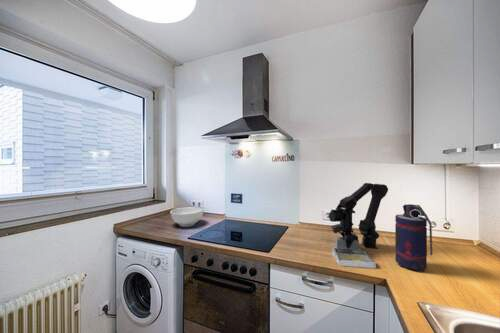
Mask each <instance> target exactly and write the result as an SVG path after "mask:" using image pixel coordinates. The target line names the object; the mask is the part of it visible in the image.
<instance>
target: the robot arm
mask: <svg viewBox="0 0 500 333" xmlns="http://www.w3.org/2000/svg"><path fill="white" fill-rule="evenodd" d="M388 191H389V188H388V186H387V185H386V184H383V183H382V184H381V183H371V182H364V183H363V184H362V185H361V186H360V187H359V188H358V189H357V190H356V191H354V192H353V193H351V195H347V196H345V197H343V198H341V199H340V201H339V203H338V205H337V206H336V208H335V209H331V210H330V211H329V213H328V218H329V221H330V222H332V223H334V222H339V223H338V224H337V223H336V224H334V225H331V226H330V227H331V228H330V229H331V231H332V232H333V234H337V233H339V234H340V235H341V236H342V238H345V240H346V246H347V248H350V246H351V244H352V243H353V241H354V240H356V241H358V240H359V236H358V235H357V234H356V233H354V230H353V226H354V223H353V214H356V210H354V208H355V207H356V206H357V203H358V201H360V200H361V199H362V198H363V197H364V196H366V195H367V194H368V193H370V194H371V199H370V203H369V206H368V208H367V212H366V215H365V218H364V219H360V220H359V224H358V225H357V226H358V230H359V233H360V235H362V237H361V238H362V239H361V244H362V245H361V246H363V247H364V248H366V249H378V247H377V239H379V237H380V234H379V233H378V232H377V231H376V228H377V227H376V226H377V225H376V221H375V220H376V218H377V214H378V211H379V208H380V205H381V201H382V200H383V199H384V198H385V197H386V196H387V193H388Z"/></svg>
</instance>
